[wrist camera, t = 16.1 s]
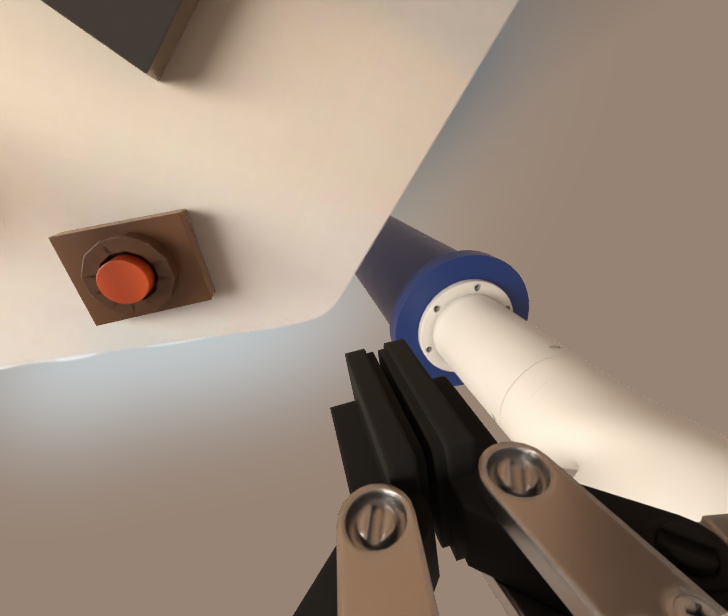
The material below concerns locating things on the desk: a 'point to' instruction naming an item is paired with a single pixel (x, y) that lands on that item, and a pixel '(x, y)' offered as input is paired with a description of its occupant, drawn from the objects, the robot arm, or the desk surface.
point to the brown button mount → (147, 241)
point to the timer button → (125, 279)
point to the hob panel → (132, 27)
